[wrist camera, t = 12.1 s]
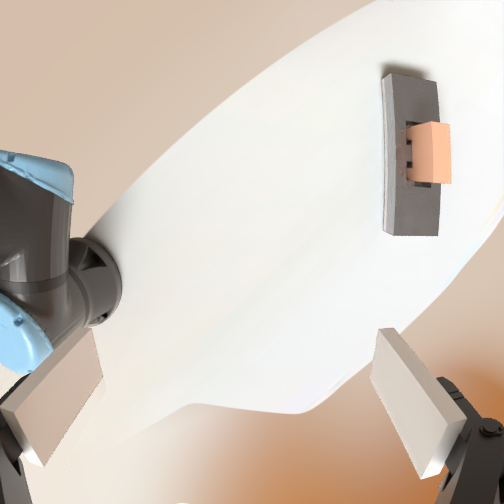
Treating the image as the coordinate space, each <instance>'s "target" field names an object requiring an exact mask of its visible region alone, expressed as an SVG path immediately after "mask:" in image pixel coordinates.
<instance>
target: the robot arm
mask: <svg viewBox="0 0 504 504" xmlns="http://www.w3.org/2000/svg"><path fill="white" fill-rule="evenodd" d="M73 182H74V174H73V171H72V169H71V168H70V167H69V166H68V165H67V164H65V163H62V162H59V161H55V160H51V159H46V158H41V157H37V156H31V155H27V154H21V153H15V152H8V151H4V150H0V363H1V364H2V365H3V366H5V367H6V368H8V369H10V370H11V371H14V372H16V373H19V374H26V375H25V376H23V377H22V378H20V379H19V380H18V381H17V382H16V383H15V384H14V386H12V387H11V388H10V389H9V392H8V391H7V392H6V393H5V394H4V395H3V397H2V398H1V399H0V504H32V501H31V497H30V493H29V489H28V485H27V481H26V477H25V473H24V468H23V464H22V461H21V459H20V458H19V456H20V454H21V453H22V452H23V453H24V454H25V456H26V457H27V459H28V461H29V462H31V463H34V464H36V465H39V466H42V467H45V465H46V463H47V462H48V460H49V459H50V457H51V455H52V454H53V452H54V451H55V449H56V447H57V446H58V444H59V443H60V441H61V439H62V438H63V437H64V435H65V433H66V432H67V430H68V429H69V427H70V425H71V424H72V423H73V421H74V420H75V418H76V417H77V415H78V414H79V412H80V410H81V409H82V407H83V406H84V404H85V403H86V401H87V400H88V398H89V397H90V396H91V394H92V393H93V391H94V389H95V388H96V387H97V385H98V384H99V382H100V381H101V379H102V378H103V373H102V370H101V366H100V362H99V358H98V354H97V350H96V345H95V341H94V337H93V332H92V328H89V327H92V326H96V325H99V324H101V323H103V322H104V321H106V320H107V319H108V318H109V317H110V316H111V315H112V314H113V313H114V311H115V310H116V308H117V307H118V305H119V302H120V299H121V292H122V285H121V278H120V274H119V271H118V268H117V266H116V264H115V262H114V260H113V259H112V257H111V256H110V255H109V253H108V252H107V251H106V250H105V249H104V248H103V247H101V246H100V245H99V244H97V243H96V242H94V241H92V240H89V239H86V238H78V237H77V238H71V239H70V225H71V212H72V205H73V204H74V200H73V199H72V197H73ZM370 381H371V383H372V384H373V386H374V388H375V390H376V392H377V394H378V396H379V398H380V400H381V402H382V403H383V405H384V407H385V409H386V411H387V413H388V415H389V417H390V419H391V421H392V423H393V425H394V427H395V429H396V431H397V433H398V435H399V437H400V438H401V441H402V443H403V445H404V446H405V449H406V451H407V453H408V455H409V457H410V459H411V461H412V463H413V465H414V467H415V469H416V471H417V473H418V475H419V477H420V479H424V478H427V477H430V476H434V475H437V474H439V473H440V471H441V469H442V467H443V466H444V464H446V466H447V468H448V469H449V471H448V473H447V474H446V476H445V478H444V480H443V481H442V483H441V484H440V486H439V487H438V488H440V489H441V490H440V492H439V495H438V497H437V500H436V502H435V504H504V427H503V425H502V424H501V423H500V422H498V421H497V420H494V419H492V418H482V417H481V416H480V415H479V414H478V412H477V411H476V410H475V409H474V408H473V406H472V405H471V404H470V403H469V402H468V400H467V399H466V398H464V396H463V394H462V393H461V392H459V390H458V389H457V388H456V386H455V385H454V384H453V383H452V382H451V381H449V380H447V379H446V378H444V377H439V378H435V377H434V376H433V374H432V373H431V372H430V371H429V369H428V368H427V367H426V366H425V365H424V363H423V362H422V361H421V360H420V358H419V357H418V356H417V355H416V354H415V353H414V351H413V350H412V349H411V348H410V347H409V345H408V344H407V343H406V342H405V341H404V339H403V338H402V337H401V336H400V335H399V334H398V332H397V331H396V330H395V329H394V328H384V329H378V335H377V341H376V347H375V353H374V358H373V363H372V369H371V374H370Z"/></svg>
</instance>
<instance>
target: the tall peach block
mask: <svg viewBox="0 0 504 504" xmlns="http://www.w3.org/2000/svg"><path fill="white" fill-rule="evenodd" d="M406 142H412V160H413V168H407V180H413V181H417V182H431V183H445V184H451V145H450V128H449V124H445V123H439V122H432V121H431V122H427V123H423V124H419V125H416V126H412V127H411V128H407V129H406Z"/></svg>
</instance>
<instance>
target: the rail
mask: <svg viewBox="0 0 504 504" xmlns="http://www.w3.org/2000/svg"><path fill="white" fill-rule="evenodd" d="M382 93H383V109H384V132H385V201H384V225H383V231H384V232H387V233H389V234H391V235H393V236H438V229H439V215H440V194H441V183H431V182H417V181H413V180H407V168H413V160H412V142H406V129H407V128H411V127H412V126H416V125H419V124H423V123H427V122H431V121H432V122H439V123H440V119H439V105H438V94H437V84H436V82H434V81H429V80H425V79H420V78H416V77H411V76H406V75H400V74H395V73H390V74H389V75H387V76H386V77H385V78H383V79H382Z"/></svg>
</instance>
